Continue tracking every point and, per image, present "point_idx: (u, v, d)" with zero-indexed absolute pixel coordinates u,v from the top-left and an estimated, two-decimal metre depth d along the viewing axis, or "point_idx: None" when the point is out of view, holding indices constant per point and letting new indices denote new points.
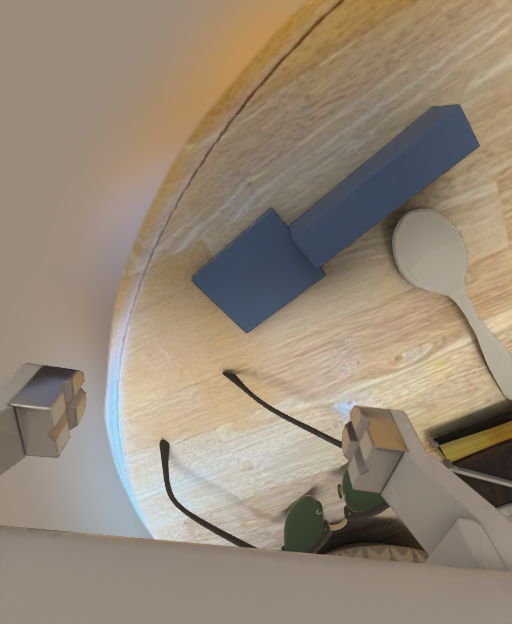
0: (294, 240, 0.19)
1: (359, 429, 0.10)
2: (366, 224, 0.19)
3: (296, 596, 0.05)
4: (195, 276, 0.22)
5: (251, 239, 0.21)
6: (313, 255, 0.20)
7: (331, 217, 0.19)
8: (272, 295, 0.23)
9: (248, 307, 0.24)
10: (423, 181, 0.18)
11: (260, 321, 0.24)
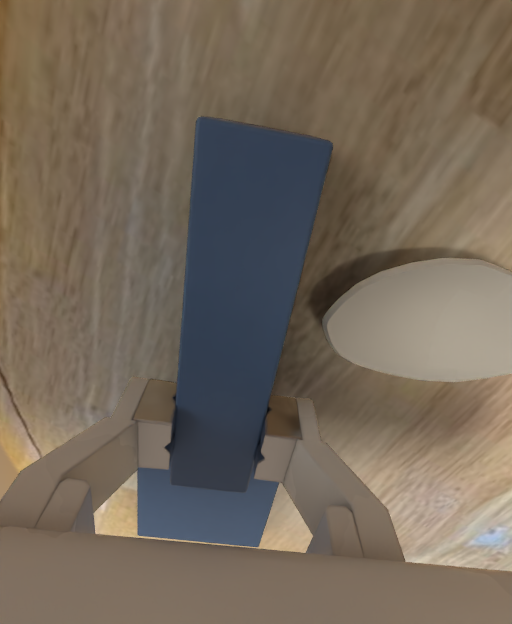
0: (174, 484, 0.10)
1: None
2: (253, 408, 0.09)
3: (295, 597, 0.05)
4: (138, 529, 0.15)
5: (151, 468, 0.13)
6: (219, 483, 0.10)
7: (189, 434, 0.09)
8: (244, 502, 0.14)
9: (229, 526, 0.15)
10: (280, 291, 0.07)
11: (260, 530, 0.15)
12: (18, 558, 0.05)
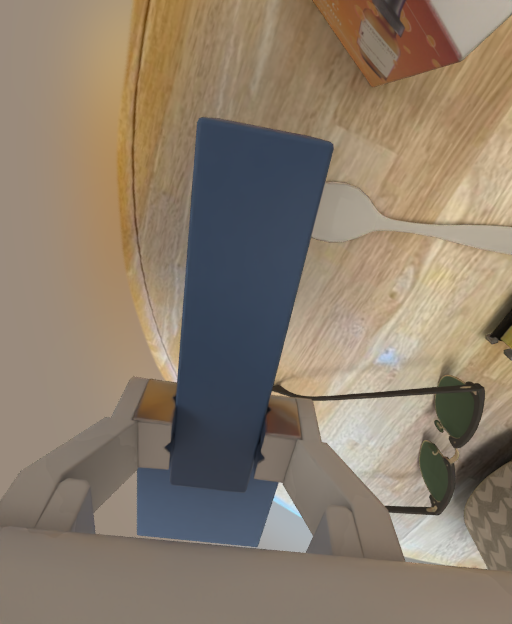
0: (174, 484, 0.10)
1: None
2: (253, 408, 0.09)
3: (296, 596, 0.05)
4: (137, 529, 0.15)
5: (151, 468, 0.13)
6: (219, 483, 0.10)
7: (189, 434, 0.09)
8: (244, 501, 0.14)
9: (229, 526, 0.15)
10: (280, 292, 0.07)
11: (259, 530, 0.15)
12: (18, 558, 0.05)
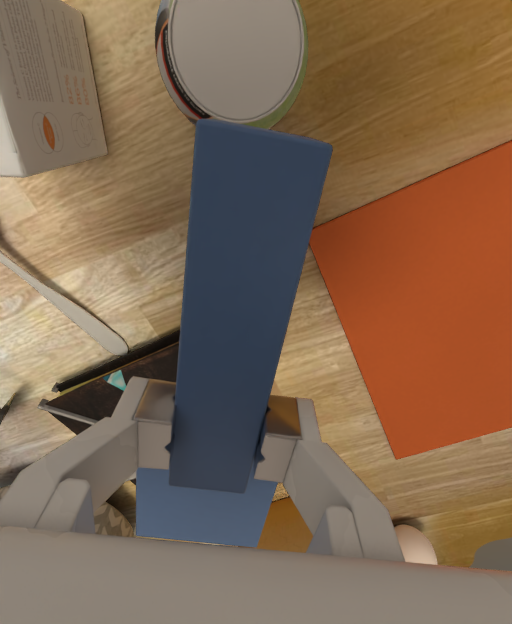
0: (172, 484, 0.10)
1: None
2: (252, 409, 0.09)
3: (296, 597, 0.05)
4: (136, 529, 0.15)
5: (150, 469, 0.13)
6: (218, 484, 0.10)
7: (187, 435, 0.09)
8: (243, 502, 0.14)
9: (228, 526, 0.15)
10: (279, 293, 0.07)
11: (258, 531, 0.15)
12: (18, 558, 0.05)
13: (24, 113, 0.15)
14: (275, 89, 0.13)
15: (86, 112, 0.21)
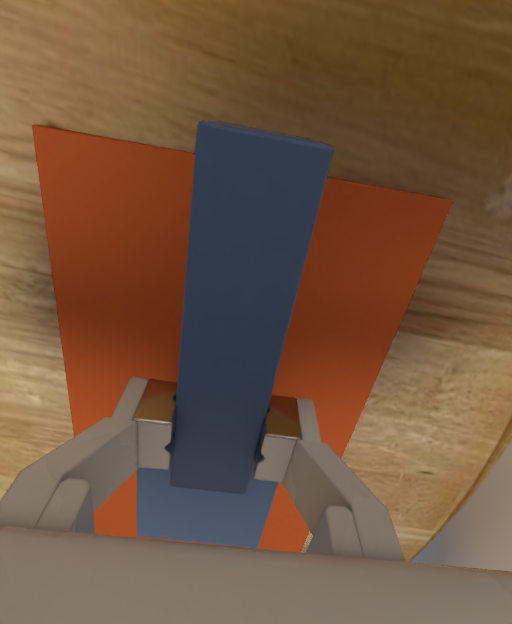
0: (174, 485, 0.10)
1: None
2: (252, 410, 0.09)
3: (296, 596, 0.05)
4: (137, 530, 0.15)
5: (151, 469, 0.13)
6: (219, 485, 0.10)
7: (188, 436, 0.09)
8: (243, 503, 0.14)
9: (228, 527, 0.15)
10: (280, 294, 0.07)
11: (259, 531, 0.15)
12: (18, 558, 0.05)
13: None
14: None
15: None
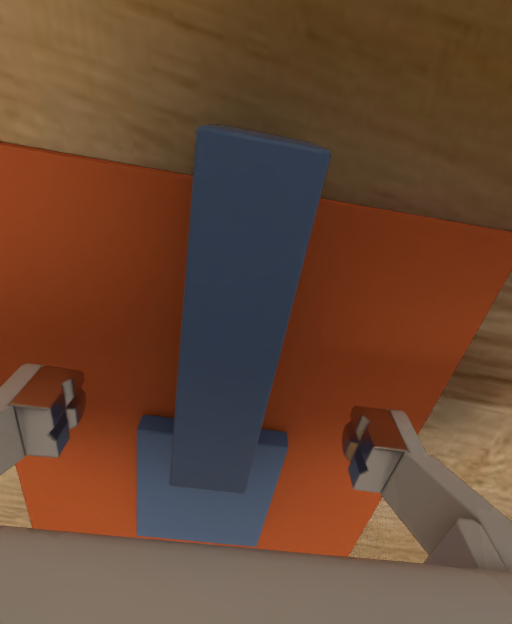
0: (173, 485, 0.11)
1: (359, 429, 0.10)
2: (252, 410, 0.09)
3: (295, 596, 0.05)
4: (137, 530, 0.15)
5: (150, 469, 0.13)
6: (218, 484, 0.11)
7: (188, 436, 0.09)
8: (242, 502, 0.14)
9: (228, 526, 0.15)
10: (278, 296, 0.07)
11: (258, 530, 0.15)
12: (18, 558, 0.05)
13: None
14: None
15: None
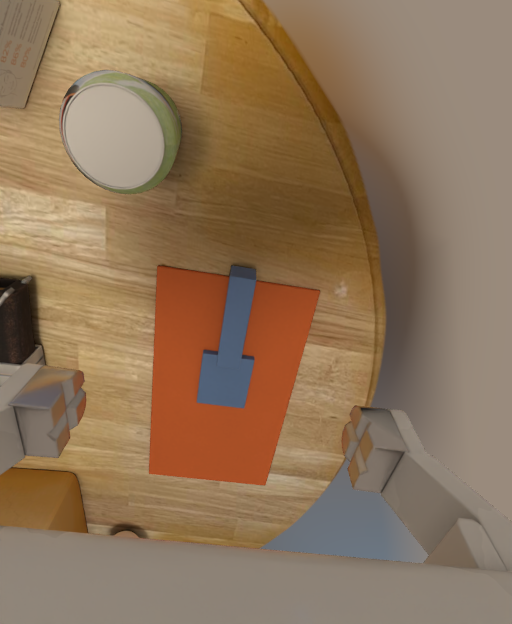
0: (217, 366, 0.35)
1: (359, 429, 0.10)
2: (241, 339, 0.33)
3: (295, 597, 0.05)
4: (197, 399, 0.39)
5: (205, 369, 0.37)
6: (231, 365, 0.34)
7: (223, 347, 0.33)
8: (238, 385, 0.38)
9: (232, 397, 0.39)
10: (247, 308, 0.32)
11: (244, 399, 0.39)
12: (18, 558, 0.05)
13: None
14: (130, 178, 0.19)
15: (16, 72, 0.24)
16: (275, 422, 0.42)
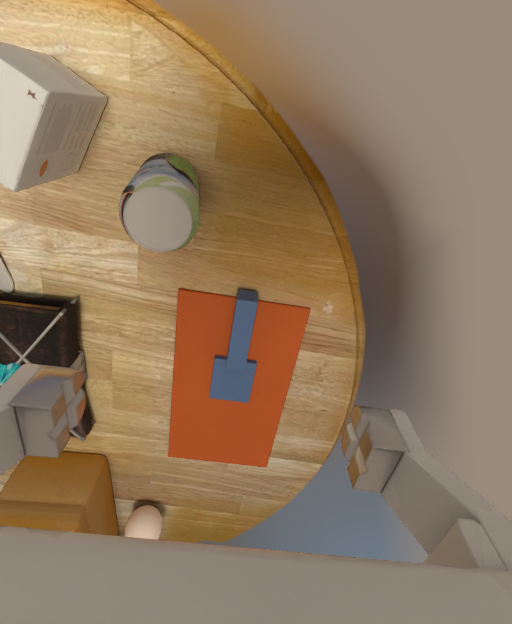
0: (226, 369, 0.43)
1: (359, 429, 0.10)
2: (245, 348, 0.41)
3: (295, 596, 0.05)
4: (209, 395, 0.47)
5: (216, 371, 0.45)
6: (237, 368, 0.42)
7: (231, 354, 0.41)
8: (243, 383, 0.46)
9: (239, 393, 0.47)
10: (250, 324, 0.39)
11: (249, 395, 0.47)
12: (18, 558, 0.05)
13: (35, 160, 0.26)
14: (167, 244, 0.26)
15: (76, 151, 0.31)
16: (275, 414, 0.50)
